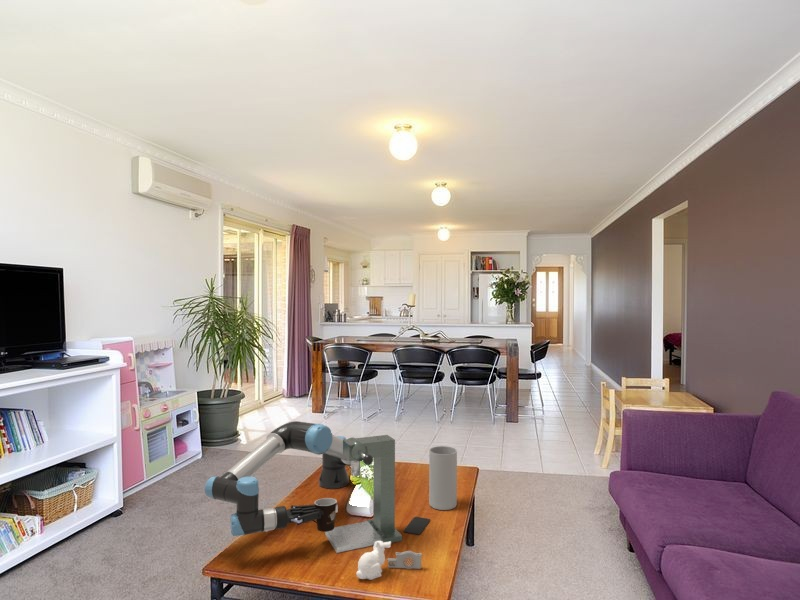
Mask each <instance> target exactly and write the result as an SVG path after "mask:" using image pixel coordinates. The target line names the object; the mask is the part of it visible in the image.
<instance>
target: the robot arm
mask: <svg viewBox="0 0 800 600" xmlns="http://www.w3.org/2000/svg"><path fill="white" fill-rule="evenodd" d="M346 439H347V438H346V436H344V435H333V433H332V430H331V429H330V427H328V426H327V425H325V424H321V423H312V422H305V421H300V420H299V421H298V420H294V421H289V422H286V423H285V424H282V425H279V426H278V427H276V428H275V429H273V430H272V431H270V433H268V434H267V435H266V438H265V440H263V441H262V442H261V443H260V444H258V445H257V446H256V447H255V448H254V449H253V450H251V451H250V452H249V453H247V454H246V456H244V457H243V458H242V459H241V460H239V461H238V462H236V463H235V464H234V465H233V466H232V467H230V468H229V469H227V471H226V472H225V473H223V474H222V475H221V476H218V475H217V476H211V477H210V478H208V479H207V481H206V482H205V485H204V494H205V495H206V496H207V497H208V498H210V499H213V500H216V501H223V502H227V503H229V504H230V503H231V504H234V505H236V512H235V513H232V514H231V515H230V516H229V517H230V519H229V520H230V522H229V525H230V528H229V529H230V534H231V535H232V537H239V536H246V535H252V534H257V533H263V532H266V533H268V532H269V531H273V530H275V529H277V530H281V529H285V528H287V526H288V524H293V523H297V524H296V525H297V526H301V525H304V524H305V523H308V522H313V520H314V521H316V519H320V518H321V515H323V514H324V513H323V511H321V509H316V507H315V504H303V505H290V508H288V509H287V508H286V506H284V505H282V506H281V505H279V506H276V507H268V508H261V509H259V501H260V500H259V498H260V496H259V494H260V487H259V479H258V478H256V477H255V476H254V474H256V473H257V472H258V471H259V470H260V469H262V467H264V466H265V465H266V464H268V463H269V461H271V459H273V458H274V457H275V456H276V455H277V454H282V453H284V452H285V451H287V450H297V451H304V452H308V453H311V454H314V455H321V456H322V458H321V460H322V461H321V462H322V466H321V467H322V468H321V471H320V472H321V473H320V475H319V478H318V486H320V487H321V488H324V489H329V490H330V489H332V490H334V489H341V488H344V487H347V484H348V483H350V478H349V473H348V471H347V468H346V466H349V467H351V461H349V460H348V459H347V458H346V457H344V456H343V440H346ZM348 485H349V484H348ZM340 487H341V488H340ZM318 505H320V504H318ZM338 509H339V506H338V504H337V505H336V510H335V513H338V512H339V511H338ZM314 510H316V511H315V512H313V511H314Z"/></svg>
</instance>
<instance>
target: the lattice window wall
mask: <svg viewBox="0 0 800 600" xmlns="http://www.w3.org/2000/svg"><path fill="white" fill-rule="evenodd" d="M395 556H396V557H395V558H394V557H387V562H388V563H387V567H388V568H391V569H392V568H394V569H406V570H411V569H413V570H414V569H416V570H417V569H419V570H420V569H422V556H423V553H422V552H419V553H418V552H414V551H412V550H406V551H403V552H399V551H398V552H396V551H395Z"/></svg>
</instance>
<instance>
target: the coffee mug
mask: <svg viewBox="0 0 800 600" xmlns="http://www.w3.org/2000/svg"><path fill="white" fill-rule="evenodd" d="M337 503H338V500H337V499H336V498H332V497H324V498H319V499H316V500H315V501H314V504H313V505H315V507H316V509H321V511H323V513H324V514H323V515H321V518H320V519H316V520H313V521H312V522H314V523H316V527H317V531H319V532H323V533H325V532H328V531H331V530H333V529H334V527H335V523H336V513H335V510H336V505H338V504H337ZM318 504H320V505H318ZM315 511H316V510H314V511H313V512H315Z"/></svg>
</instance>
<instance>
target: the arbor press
mask: <svg viewBox="0 0 800 600" xmlns="http://www.w3.org/2000/svg"><path fill="white" fill-rule="evenodd" d="M343 456H344V457H346V458H347V459H348V460H349V461H351V466H350V474H351V476H352V477H358V476H360V475H361V468H360V461H362V460H363V462H364V463H365V464H366V465H369V466H370V465H371V464H373V496H372V497H373V502H372V503H373V504H372V505H373V506H372V509H373V511H372V512H373V513H372V515H373V516H372V518H371V519H367V520H365V521H361V522H356V523H351V524H347V525H346V524H345V525H340V526H334V529H333V530H331V531H328V532H324V535H325V536H326V538H327V540H328V541H329V543H330V544H331V547H332V548H333V550H334V551H335V552H336V553H335V554H339V553H342V552H343V553H344V552H348V551H353V550H357V549H364V548H367V547H371V546H374V543H375V542H376V541H383V543H384V542H390V541H391V544H393V543H397V542H403V535H402V534H401V532H399V531H398V530H397V528H396V527H395V525H396V523H395V522H396V521H395V518H396V517H395V516H396V514H395V512H396V501H395V500H396V494H395V493H396V491H395V490H396V486H395V485H396V482H395V481H396V440H395V438H393V437H392V436H390V435H388V434H383V435H373V436H365V437H350V438H348V439H347V438H346V440H343Z"/></svg>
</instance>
